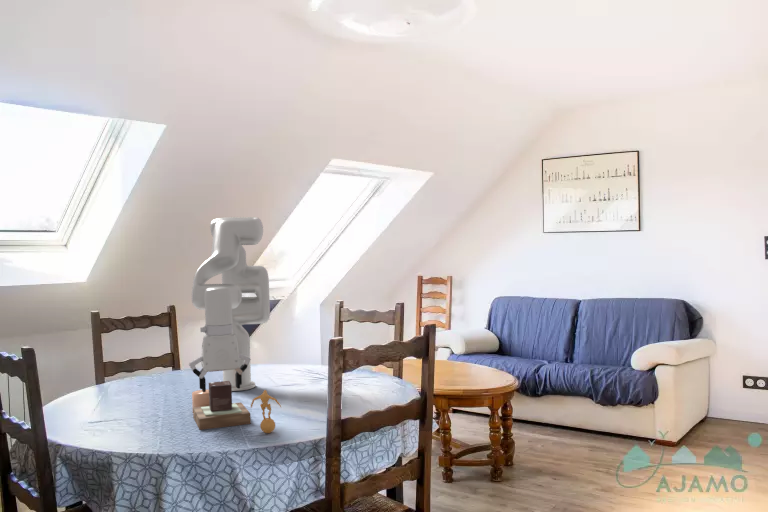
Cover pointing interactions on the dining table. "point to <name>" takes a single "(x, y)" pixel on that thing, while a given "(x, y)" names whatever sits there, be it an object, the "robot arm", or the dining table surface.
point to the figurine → (267, 423)
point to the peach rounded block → (200, 398)
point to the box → (220, 396)
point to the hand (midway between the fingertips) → (220, 389)
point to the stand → (221, 417)
